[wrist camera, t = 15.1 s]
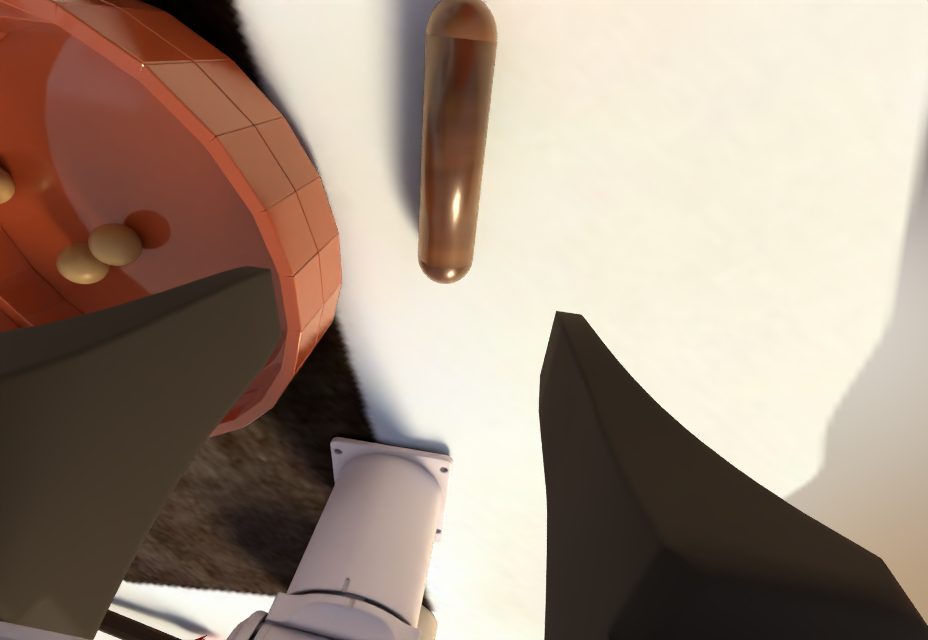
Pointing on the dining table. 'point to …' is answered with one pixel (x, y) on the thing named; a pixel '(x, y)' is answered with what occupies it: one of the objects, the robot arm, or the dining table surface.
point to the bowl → (154, 175)
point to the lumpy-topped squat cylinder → (427, 624)
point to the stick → (454, 134)
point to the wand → (131, 629)
